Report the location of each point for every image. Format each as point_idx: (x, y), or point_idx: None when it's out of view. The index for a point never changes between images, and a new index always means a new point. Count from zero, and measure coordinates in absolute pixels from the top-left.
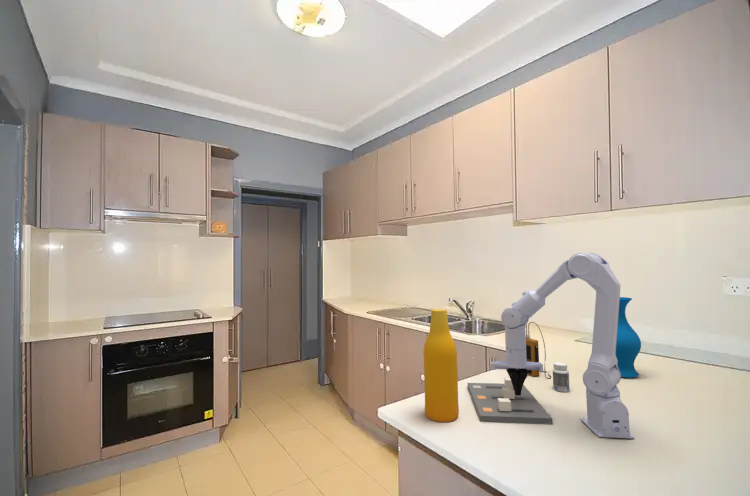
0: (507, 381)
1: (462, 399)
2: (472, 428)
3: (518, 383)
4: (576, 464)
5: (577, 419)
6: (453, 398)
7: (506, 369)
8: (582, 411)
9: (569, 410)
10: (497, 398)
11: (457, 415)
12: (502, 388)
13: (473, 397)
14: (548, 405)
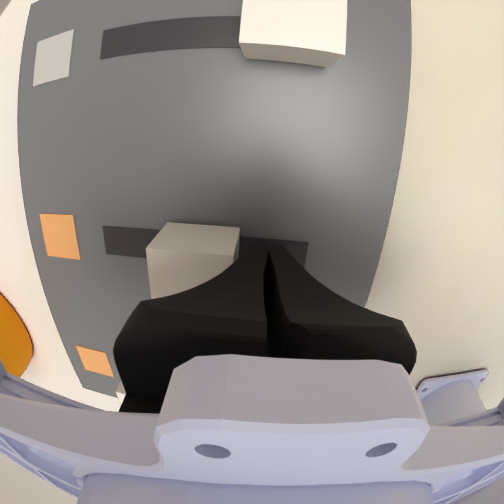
0: (253, 47)
1: (10, 189)
2: (79, 394)
3: (266, 347)
4: None
5: (420, 372)
6: None
7: (125, 375)
8: (484, 314)
9: (456, 310)
10: (116, 390)
11: (30, 356)
12: (149, 258)
13: (30, 236)
14: (419, 263)
